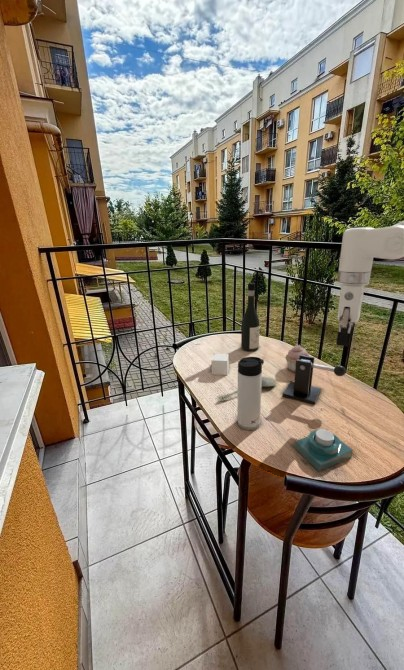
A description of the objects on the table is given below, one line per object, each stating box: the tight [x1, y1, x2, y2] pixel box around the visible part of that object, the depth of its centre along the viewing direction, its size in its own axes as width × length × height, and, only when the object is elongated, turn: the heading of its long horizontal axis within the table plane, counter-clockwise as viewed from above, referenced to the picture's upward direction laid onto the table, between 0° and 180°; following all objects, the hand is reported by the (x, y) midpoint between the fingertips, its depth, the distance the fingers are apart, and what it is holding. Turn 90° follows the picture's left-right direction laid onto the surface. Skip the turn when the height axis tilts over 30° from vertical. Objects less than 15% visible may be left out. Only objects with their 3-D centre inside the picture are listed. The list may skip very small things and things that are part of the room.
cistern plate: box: [294, 429, 354, 472], centre depth 67 cm, size 10×8×4 cm
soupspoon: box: [219, 376, 276, 402], centre depth 94 cm, size 22×3×7 cm
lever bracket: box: [282, 355, 322, 406], centre depth 90 cm, size 10×9×13 cm
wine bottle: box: [240, 282, 261, 352], centre depth 124 cm, size 8×8×30 cm
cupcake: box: [284, 344, 310, 373], centre depth 107 cm, size 9×9×10 cm
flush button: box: [315, 428, 335, 446], centre depth 66 cm, size 4×4×2 cm
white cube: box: [210, 353, 230, 376], centre depth 108 cm, size 6×6×6 cm
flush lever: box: [301, 359, 347, 377], centre depth 85 cm, size 13×3×3 cm, turn 58°
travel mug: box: [237, 356, 265, 431], centre depth 76 cm, size 6×7×20 cm
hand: (343, 341), depth 80 cm, fingers open, 4 cm apart
